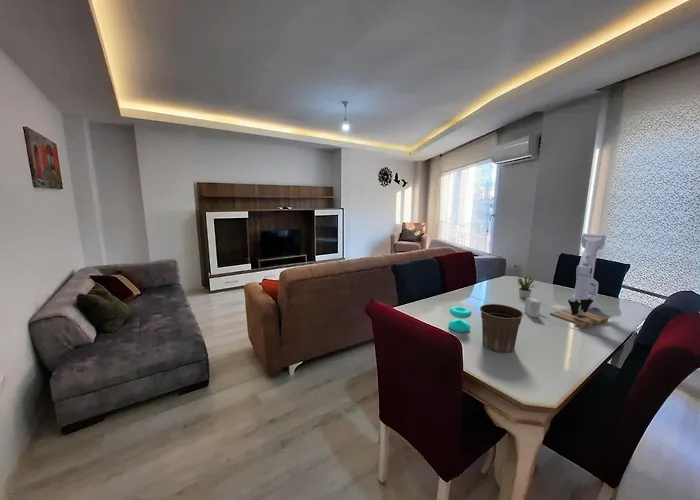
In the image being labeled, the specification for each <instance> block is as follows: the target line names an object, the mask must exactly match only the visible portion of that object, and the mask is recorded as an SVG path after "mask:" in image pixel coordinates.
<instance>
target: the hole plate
mask: <svg viewBox="0 0 700 500" xmlns="http://www.w3.org/2000/svg"><path fill="white" fill-rule="evenodd" d="M549 315H551V316H553V317H556V318H559V319H562V320H564V321H568V322H570V323H573V324H575V325H574V327H575V328H578V329H582V330H585V329H588V328H593V327H597V325H598V326H601V324H602V325H605V324H608V322H609V317H605V316H601V315H599V314H595V313H593V312H589V311H587V312H586V313H585V312H583V317H582V318H579V317H576V316H574V314H572V312H571V308H566V309H561V310H557V311H551V312H550V313H549Z"/></svg>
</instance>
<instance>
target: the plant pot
mask: <svg viewBox="0 0 700 500" xmlns="http://www.w3.org/2000/svg"><path fill="white" fill-rule="evenodd" d="M479 311H480V315H481V316H480V317H481V323H482V324H481V325H482V326H481V329H482V331H481V332H482V334H481V335H482V345H483V346H484V347H485V348H486V349H488V350H490V351H493V352H496V351H497V352H499V353H501V354H503V353H504V354H505V353H506V354H507V353H512V352H513V351H515V347H516V341H517V337H518V332H519V328H520V327H519V326H520V325H521V322H522V318H523V317H524V313H523V311H521V310H520V309H518V308H515V307H513V306H509V305H505V304H497V303H489V304H483V305H481V306H480V307H479Z"/></svg>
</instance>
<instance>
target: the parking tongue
mask: <svg viewBox="0 0 700 500" xmlns="http://www.w3.org/2000/svg"><path fill="white" fill-rule="evenodd" d="M549 308H553V309H556V310H558V311H562V310H567V309H569V306H568V307H567V306H565V305H562V304H561V305H560V304H553V305H549Z"/></svg>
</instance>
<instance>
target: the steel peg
mask: <svg viewBox="0 0 700 500" xmlns="http://www.w3.org/2000/svg"><path fill="white" fill-rule="evenodd" d="M574 316H576V317H579V318H584V317H583V309H581V308H579V309H578V313H577V315H575V314H574Z"/></svg>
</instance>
